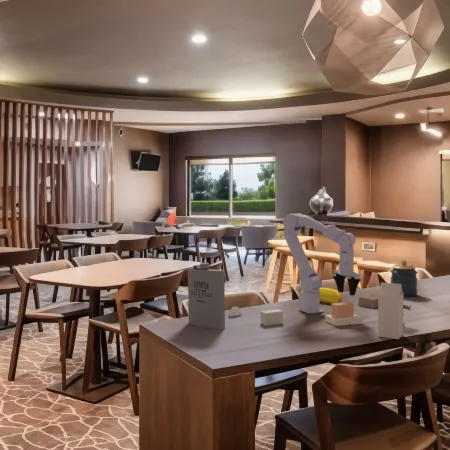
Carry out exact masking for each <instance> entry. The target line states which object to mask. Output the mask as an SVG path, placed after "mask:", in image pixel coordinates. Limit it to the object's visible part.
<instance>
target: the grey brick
mask: <svg viewBox="0 0 450 450" xmlns="http://www.w3.org/2000/svg"><path fill="white" fill-rule="evenodd" d="M260 324H261V325H263V326H265V327H266V326H274V325H281V324H284V311H283V310H281V309H278V308H277V309H268V310H261V311H260Z"/></svg>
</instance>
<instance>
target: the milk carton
mask: <svg viewBox="0 0 450 450" xmlns="http://www.w3.org/2000/svg"><path fill="white" fill-rule="evenodd" d="M378 292H379V294H378V307H377V315H378V316H377V335H378V336H377V337H380V338H388V339H395V340H400V338H402V336H403V335H404V324H403V323H404V316H403V314H404V309H403V305H404V297H403V291H402V288H401V284H392V283H391V282H388V283H387V282H381V283H380V288H379V291H378Z"/></svg>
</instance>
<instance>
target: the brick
mask: <svg viewBox="0 0 450 450" xmlns="http://www.w3.org/2000/svg"><path fill="white" fill-rule="evenodd" d="M378 294H379V291H378V292H377V291H375V292H371V293H370V294H365V295H361V296H359V297H358V301H357V305H358V307H364V308H366V307H367V308H368V309H375V308H378Z"/></svg>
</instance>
